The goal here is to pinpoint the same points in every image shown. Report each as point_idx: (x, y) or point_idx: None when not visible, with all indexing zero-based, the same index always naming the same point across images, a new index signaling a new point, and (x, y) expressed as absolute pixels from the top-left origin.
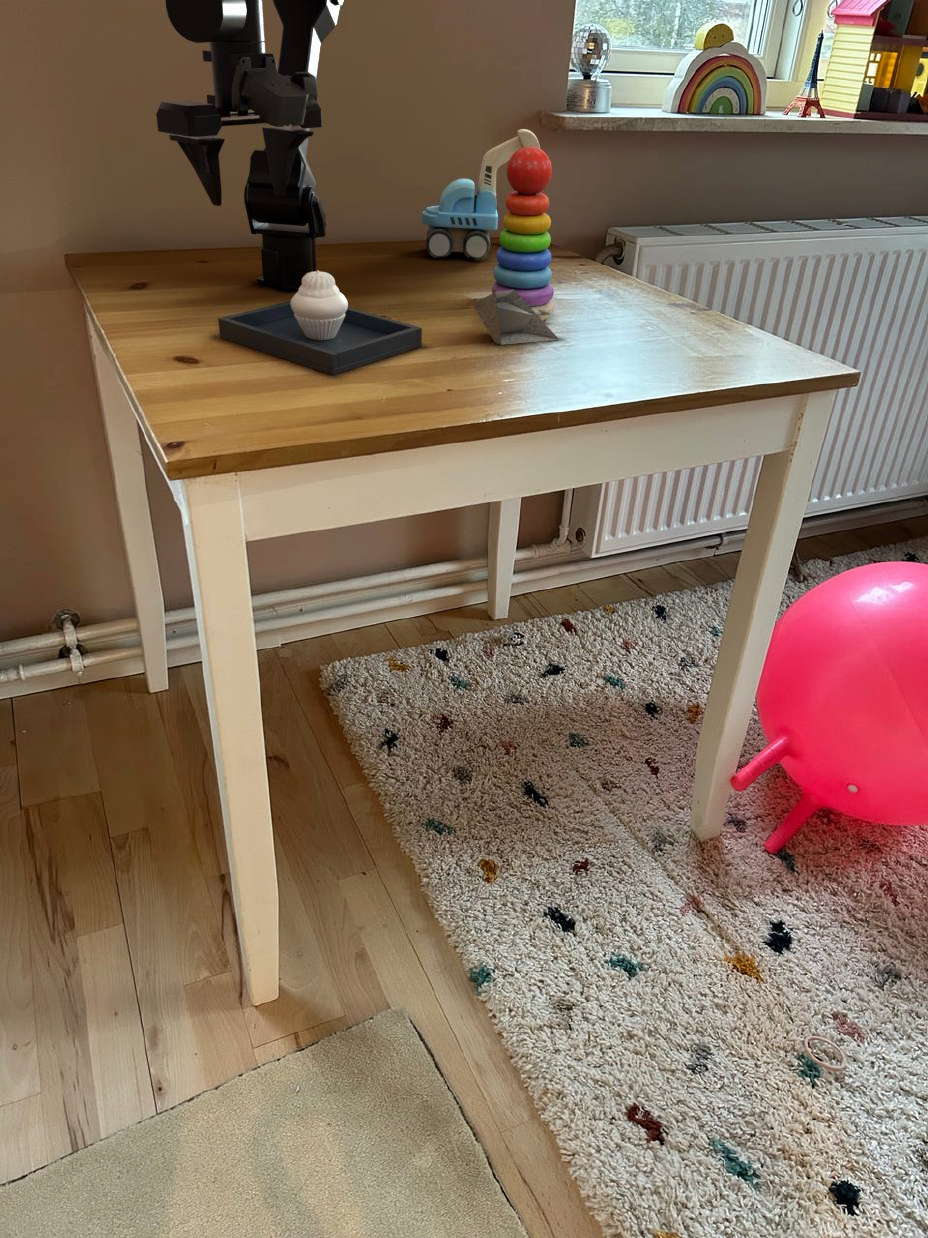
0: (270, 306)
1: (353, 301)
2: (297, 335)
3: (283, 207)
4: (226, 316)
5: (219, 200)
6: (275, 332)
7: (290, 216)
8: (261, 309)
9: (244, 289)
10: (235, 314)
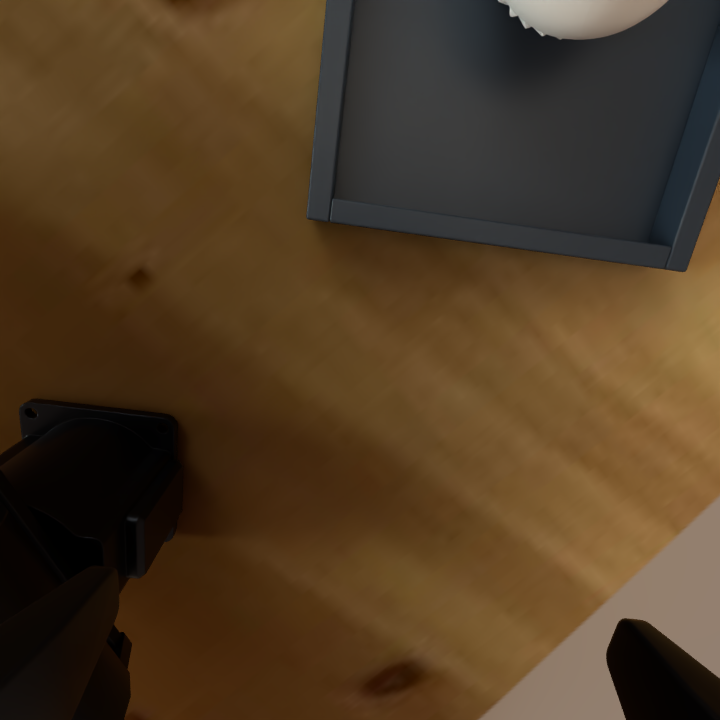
0: (488, 235)
1: (103, 204)
2: (577, 44)
3: (30, 599)
4: (656, 265)
5: (662, 638)
6: (584, 129)
7: (29, 549)
8: (535, 233)
9: (245, 515)
10: (626, 258)
